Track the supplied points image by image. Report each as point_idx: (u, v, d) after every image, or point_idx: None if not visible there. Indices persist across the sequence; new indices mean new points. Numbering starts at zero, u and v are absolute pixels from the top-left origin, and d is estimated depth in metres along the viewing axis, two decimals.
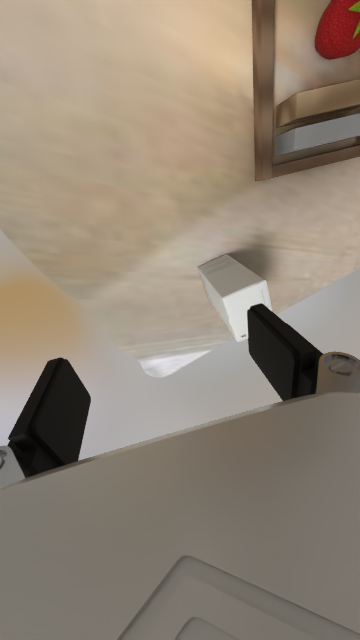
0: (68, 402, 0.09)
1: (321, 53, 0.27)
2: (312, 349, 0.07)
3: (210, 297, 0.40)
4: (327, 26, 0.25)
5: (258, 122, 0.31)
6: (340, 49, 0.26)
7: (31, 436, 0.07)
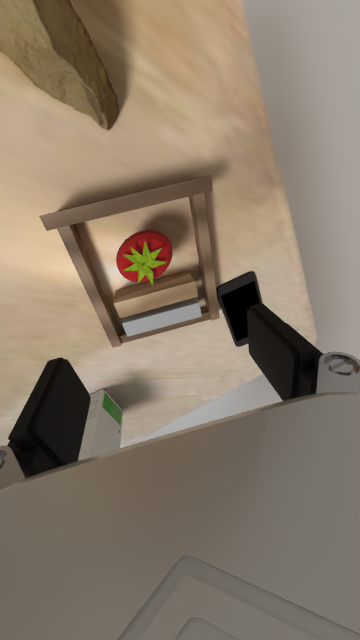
0: (68, 402, 0.09)
1: None
2: (312, 349, 0.07)
3: None
4: None
5: None
6: (136, 281, 0.28)
7: (31, 436, 0.07)
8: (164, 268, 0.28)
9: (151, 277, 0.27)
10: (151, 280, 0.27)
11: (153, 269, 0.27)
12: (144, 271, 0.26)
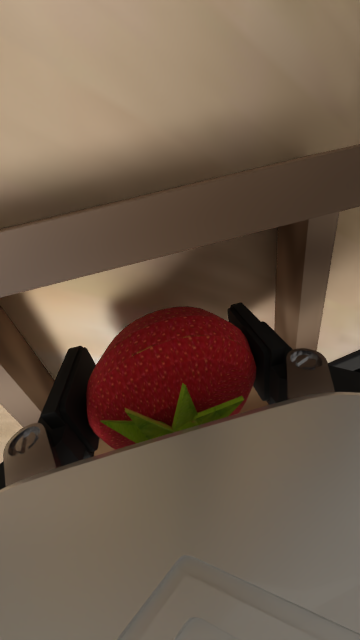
0: None
1: None
2: (280, 345, 0.08)
3: None
4: None
5: None
6: None
7: (60, 414, 0.08)
8: None
9: None
10: None
11: None
12: None
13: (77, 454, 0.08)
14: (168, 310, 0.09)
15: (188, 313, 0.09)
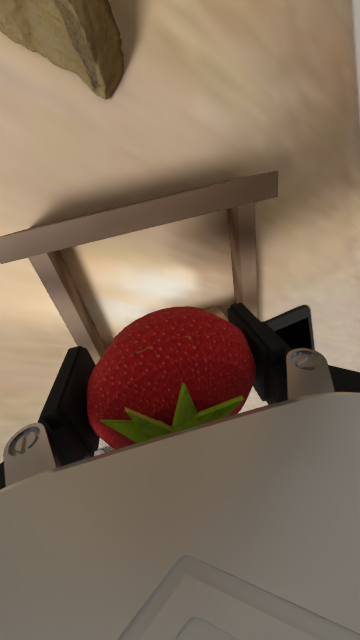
0: None
1: None
2: (280, 345, 0.08)
3: None
4: None
5: None
6: None
7: (60, 414, 0.08)
8: None
9: None
10: None
11: None
12: None
13: (77, 454, 0.08)
14: (168, 310, 0.09)
15: (188, 313, 0.09)
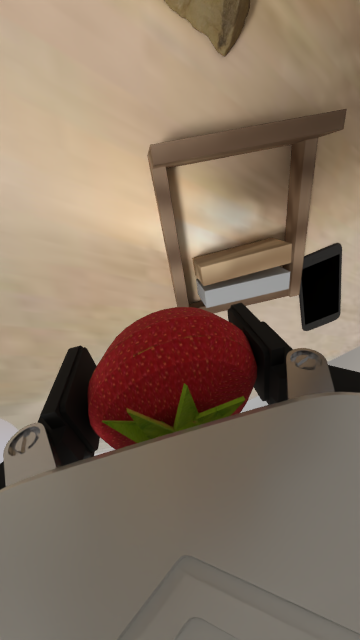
0: None
1: None
2: (280, 345, 0.08)
3: None
4: None
5: (171, 275, 0.31)
6: None
7: (60, 414, 0.08)
8: None
9: None
10: None
11: None
12: None
13: (77, 454, 0.08)
14: (169, 310, 0.09)
15: (189, 313, 0.09)
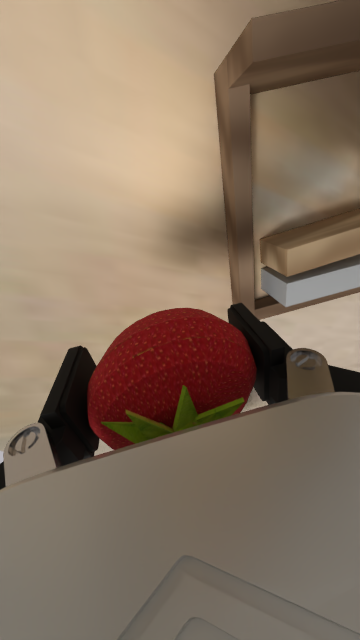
0: None
1: None
2: (280, 345, 0.08)
3: None
4: None
5: (234, 263, 0.22)
6: None
7: (61, 414, 0.08)
8: None
9: None
10: None
11: None
12: None
13: (77, 454, 0.08)
14: (168, 311, 0.09)
15: (188, 314, 0.09)
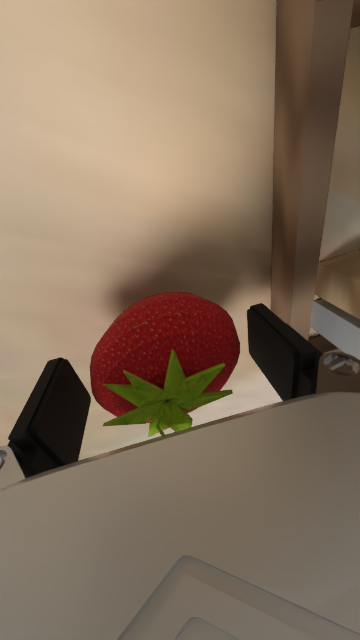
0: (68, 402, 0.09)
1: None
2: (312, 349, 0.07)
3: None
4: None
5: (281, 298, 0.15)
6: None
7: (31, 436, 0.07)
8: None
9: None
10: None
11: None
12: (167, 419, 0.09)
13: None
14: (162, 294, 0.11)
15: (179, 296, 0.10)
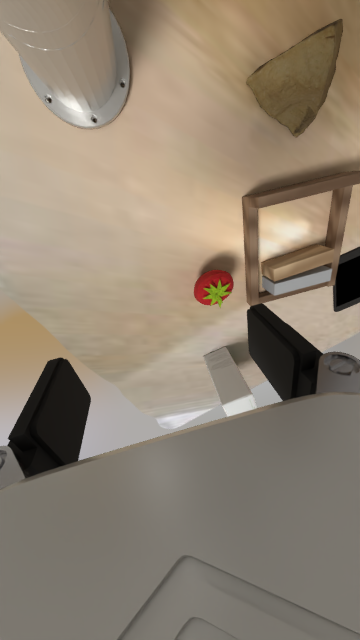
0: (68, 402, 0.09)
1: None
2: (312, 349, 0.07)
3: None
4: (195, 296, 0.40)
5: (248, 274, 0.44)
6: (207, 304, 0.40)
7: (31, 436, 0.07)
8: (227, 295, 0.40)
9: (220, 302, 0.39)
10: (220, 304, 0.39)
11: (221, 297, 0.39)
12: (216, 298, 0.38)
13: None
14: (213, 270, 0.40)
15: (218, 270, 0.39)
